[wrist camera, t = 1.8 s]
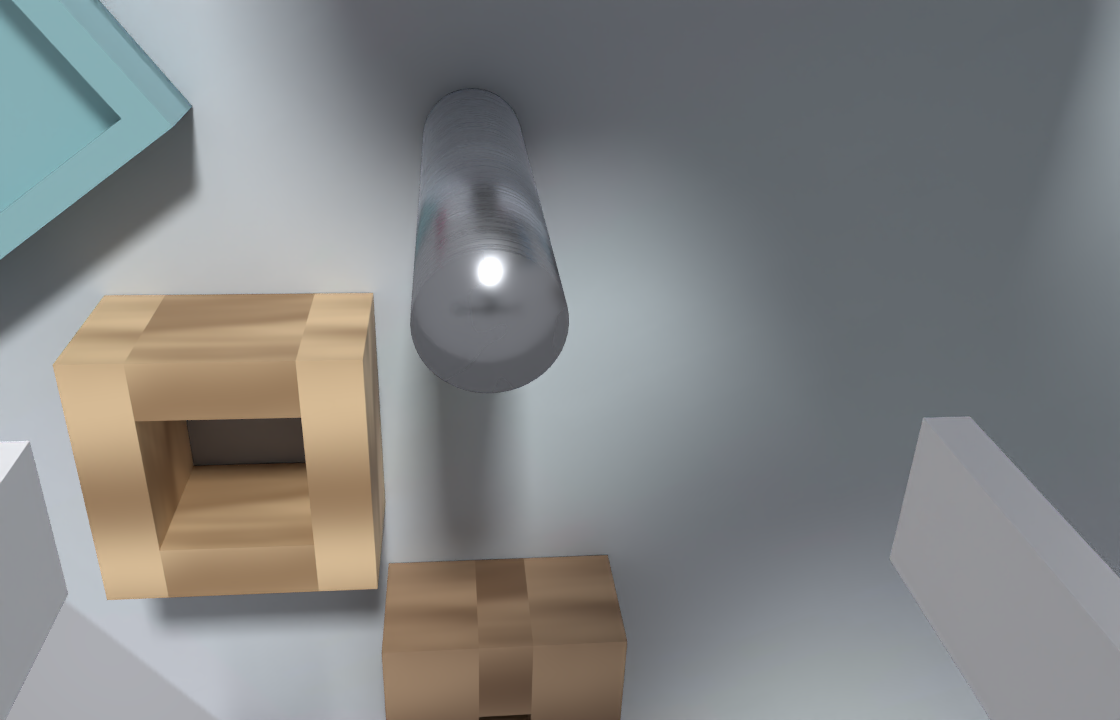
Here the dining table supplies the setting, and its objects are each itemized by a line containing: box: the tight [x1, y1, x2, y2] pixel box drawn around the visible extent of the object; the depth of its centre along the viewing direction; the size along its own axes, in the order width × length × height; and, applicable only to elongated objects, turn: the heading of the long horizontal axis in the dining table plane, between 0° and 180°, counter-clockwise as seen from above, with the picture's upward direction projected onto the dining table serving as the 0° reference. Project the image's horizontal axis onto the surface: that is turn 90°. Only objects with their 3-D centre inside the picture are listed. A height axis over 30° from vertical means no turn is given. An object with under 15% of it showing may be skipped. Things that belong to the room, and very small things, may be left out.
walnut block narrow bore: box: [382, 555, 627, 720], centre depth 40 cm, size 9×9×5 cm
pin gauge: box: [410, 89, 569, 393], centre depth 26 cm, size 3×3×14 cm
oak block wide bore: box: [53, 293, 385, 600], centre depth 34 cm, size 9×9×5 cm
